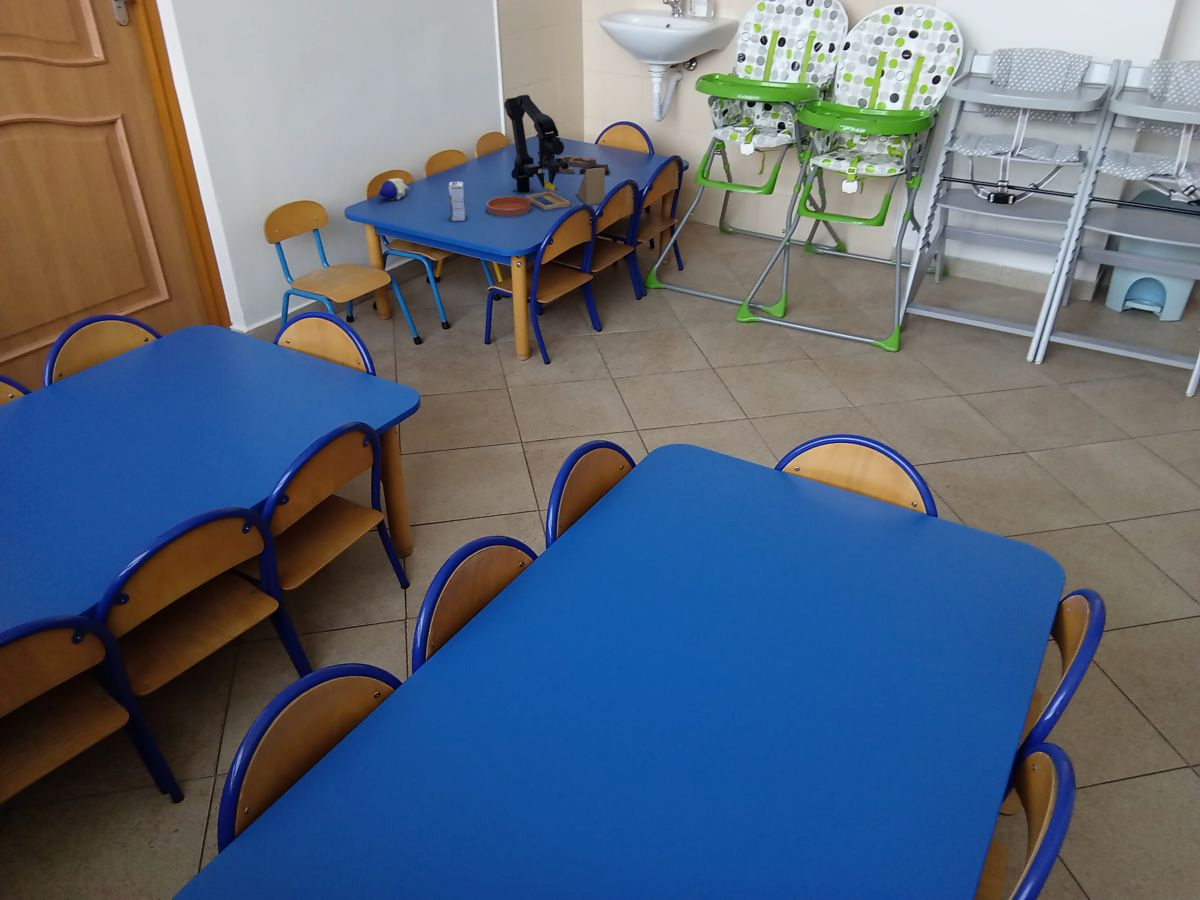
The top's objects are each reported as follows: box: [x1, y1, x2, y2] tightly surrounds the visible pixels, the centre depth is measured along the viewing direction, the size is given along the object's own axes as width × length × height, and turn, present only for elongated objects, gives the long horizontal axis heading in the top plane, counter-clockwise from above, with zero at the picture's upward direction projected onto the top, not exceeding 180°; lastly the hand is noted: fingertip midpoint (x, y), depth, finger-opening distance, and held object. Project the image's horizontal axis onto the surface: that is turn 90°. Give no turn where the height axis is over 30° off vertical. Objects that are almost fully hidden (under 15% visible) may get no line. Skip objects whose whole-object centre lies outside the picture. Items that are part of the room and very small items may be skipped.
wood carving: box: [557, 154, 610, 176], centre depth 431 cm, size 28×2×24 cm
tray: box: [525, 191, 571, 211], centre depth 383 cm, size 18×12×2 cm
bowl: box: [486, 195, 532, 217], centre depth 375 cm, size 18×18×3 cm
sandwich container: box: [576, 168, 606, 205], centre depth 385 cm, size 9×15×15 cm, turn 18°
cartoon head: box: [378, 177, 411, 201], centre depth 388 cm, size 9×10×20 cm
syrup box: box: [448, 181, 466, 222], centre depth 363 cm, size 6×6×14 cm
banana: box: [540, 179, 558, 193], centre depth 380 cm, size 12×4×3 cm, turn 31°
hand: (547, 187), depth 380 cm, fingers closed on banana, 3 cm apart
